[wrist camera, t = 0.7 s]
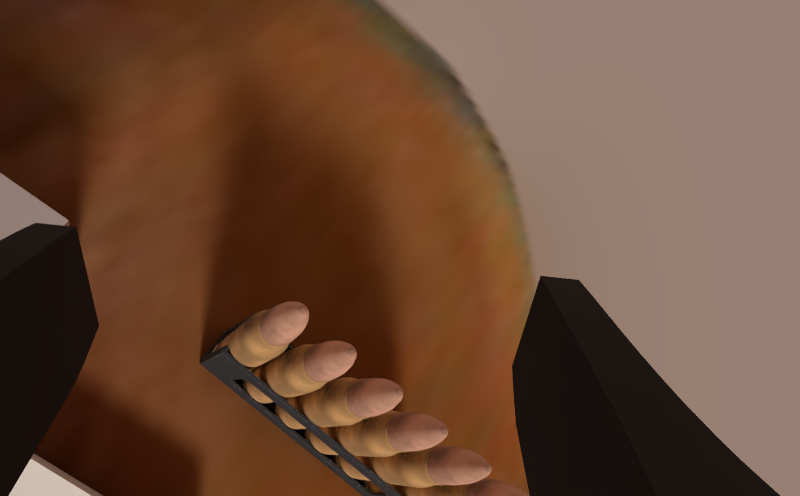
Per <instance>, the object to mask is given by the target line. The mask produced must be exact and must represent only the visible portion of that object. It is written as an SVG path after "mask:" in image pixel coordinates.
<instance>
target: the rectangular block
mask: <svg viewBox="0 0 800 496" xmlns="http://www.w3.org/2000/svg"><path fill="white" fill-rule="evenodd" d="M34 223H43V224H53V225H62V226H70V224H69V220H67V219H66V218H64V217H63V216H62V215H60V214H59V213H57V212H56V211H54V210H53V209H52V208H50V207H49V206H47V205H46V204H44V203H43V202H41V201H40V200H39V199H37V198H36V197H34V196H33V195H31V194H30V193H29V192H27V191H26V190H24V189H23V188H21V187H20V186H19V185H17V184H16V183H14V182H13V181H11V180H10V179H8V178H7V177H6V176H4V175H3V174H1V173H0V240H2V239H4V238H5V237H7V236H9V235H11V234H13V233H15V232H17V231H19V230H21V229H23V228H25V227H27V226H30V225H32V224H34Z"/></svg>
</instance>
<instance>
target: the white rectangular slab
mask: <svg viewBox="0 0 800 496" xmlns="http://www.w3.org/2000/svg"><path fill="white" fill-rule="evenodd" d="M9 496H103V495H102V494H100V493H99V492H97V491H95V490H94V489H92V488H90V487H89V486H87V485H86V484H84V483H82V482H81V481H79V480H77V479H76V478H74V477H73V476H71V475H69V474H68V473H66V472H64V471H63V470H61V469H59V468H58V467H56V466H55V465H53V464H51V463H50V462H48V461H46V460H45V459H43V458H42V457H40V456H38V455H37V454H35V453H34V454H33V456H32V457H31V459H30V461H29V462H28V464H27V466H26V467H25V469H24V471H23V472H22V474H21V476H20V477H19V479H18V481H17V482H16V484H15V486H14V487H13V489H12V491H11V492H10V494H9Z"/></svg>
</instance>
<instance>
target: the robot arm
mask: <svg viewBox="0 0 800 496" xmlns="http://www.w3.org/2000/svg"><path fill="white" fill-rule="evenodd" d="M98 327H99V324H98V319H97V315H96V311H95V306H94V302H93V298H92V293H91V289H90V285H89V280H88V276H87V272H86V267H85V263H84V259H83V254H82V250H81V246H80V241H79V237H78V233H77V228H76V227H71V226H62V225H53V224H43V223H34V224H32V225H30V226H27V227H25V228H23V229H21V230H19V231H17V232H15V233H13V234H11V235H9V236H7V237H5V238H4V239H2V240H0V496H9V494H10V492H11V491H12V489H13V487H14V486H15V484H16V482H17V481H18V479H19V477H20V476H21V474H22V472H23V471H24V469H25V467H26V466H27V464H28V462H29V461H30V459H31V457H32V456H33V454H34V452H35V451H36V449H37V447H38V446H39V444H40V442H41V441H42V439H43V437H44V435H45V434H46V432H47V430H48V429H49V427H50V425H51V424H52V422H53V420H54V419H55V417H56V415H57V413H58V412H59V410H60V408H61V407H62V405H63V403H64V401H65V400H66V398H67V396H68V394H69V393H70V391H71V389H72V387H73V386H74V384H75V382H76V380H77V377H78V375H79V373H80V371H81V368H82V366H83V364H84V362H85V359H86V357H87V354H88V352H89V349H90V347H91V344H92V342H93V339H94V337H95V334H96V332H97V329H98ZM512 371H513V389H514V404H515V416H516V426H517V431H518V437H519V442H520V447H521V453H522V458H523V463H524V468H525V473H526V478H527V483H528V488H529V493H530V496H780V495H779V494H778V493H777V492H775V491H774V490H773V489H772V488H771V487H770V486H769V485H768V484H767V483H765V482H764V481H763V480H762V479H761V478H760V477H759V476H758V475H757V474H756V473H754V472H753V471H752V470H751V469H750V468H749V467H748V466H747V465H746V464H745V463H743V462H742V461H741V460H740V459H739V458H738V457H737V456H736V455H735V454H734V453H733V452H732V451H731V450H730V449H729V448H728V447H727V446H726V445H725V444H724V443H722V441H721V440H720V439H718V438H717V437H716V436H715V435H714V433H713V432H712V431H711V430H710V429H709V428H708V427H707V426H706V425H705V424H704V423H703V422H702V421H701V420H700V419H699V418H698V417H697V416H696V415H695V414H694V413H693V412H692V411H691V410H690V409H689V408H688V407H687V406H686V405H685V404H684V402H683V401H682V400H681V399H680V398H679V397H678V396H677V395H676V394H675V393H674V391H673V390H672V389H671V388H670V387H669V386H668V385H667V384H666V383H665V382H664V380H663V379H662V378H661V377H660V376H659V375H658V374H657V373H656V371H655V370H654V369H653V368H652V367H651V366H650V365H649V363H648V362H647V361H646V360H645V359H644V358H643V357H642V355H641V354H640V353H639V352H638V351H637V349H636V348H635V347H634V346H633V345H632V343H631V342H630V341H629V340H628V339H627V337H626V336H625V335H624V334H623V333H622V332H621V330H620V329H619V328H618V327H617V326H616V324H615V323H614V322H613V321H612V319H611V318H610V317H609V316H608V314H607V313H606V312H605V311H604V310H603V308H602V307H601V306H600V305H599V304H598V302H597V301H596V300H595V299H594V297H593V296H592V295H591V294H590V293H589V291H587V289H586V288H585V287H584V286H583V284H582V283H581V282H580V281H579V280H573V279H563V278H555V277H545V276H541V277H540V280H539V283H538V286H537V289H536V293H535V296H534V299H533V302H532V305H531V308H530V312H529V315H528V318H527V321H526V324H525V327H524V330H523V334H522V337H521V340H520V343H519V346H518V349H517V353H516V356H515V359H514V362H513V365H512Z"/></svg>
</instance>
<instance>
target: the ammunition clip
mask: <svg viewBox="0 0 800 496" xmlns="http://www.w3.org/2000/svg"><path fill="white" fill-rule="evenodd" d="M308 319H309V310H308V308H307V306H305V305H304V304H303V303H300V302H285V303H282V304H279V305H276V306H274V307H273V308H271V309H268V310H263V311H260V312H258V313H255V314H253V315H251V316H250V317H248V318H246V319H245V320H243V321H241V322H240V323H238V324H236V325H235V326H233V327H231V328H230V329H228V330H226V331H225V332H224V333H223V335H222V336H221V337H220V338H219V339H218V340H217V341H216V343H215V344H214V345H213V346H212V347H211V348H210V349H209V351H208V352H207V353H206V354H205V355H204V356H203V357H202V359H201V360H200V364H201V365H202V366H203V367H205V368H206V369H207V370H208V371H210V372H211V373H212V374H213V375H214V376H216V377H217V378H218V379H219V380H221V381H222V382H223V383H224V384H226V385H227V386H228V387H229V388H231V389H232V390H233V391H234V392H235V393H237V394H238V395H239V396H240V397H242V398H243V399H244V400H245V401H247V402H248V403H249V404H250V405H252V406H253V407H254V408H255V409H256V410H258V411H259V412H260V413H261V414H263V415H264V416H265V417H266V418H268V419H269V420H270V421H271V422H272V423H274V424H275V425H276V426H277V427H279V428H280V429H281V430H282V431H284V432H285V433H286V434H287V435H289V436H290V437H291V438H292V439H293V440H295V441H296V442H297V443H298V444H300V445H301V446H302V447H303V448H305V449H306V450H307V451H308V452H310V453H311V454H312V455H313V456H314V457H316V458H317V459H318V460H319V461H321V462H322V463H323V464H324V465H326V466H327V467H328V468H329V469H331V470H332V471H333V472H334V473H335V474H337V475H338V476H339V477H340V478H342V479H343V480H344V481H345V482H347V483H348V484H349V485H350V486H352V487H353V488H354V489H355V490H356V491H358V492H359V493H360V494H361V495H363V496H528V495H527V494H526V493H525V492H523V491H522V490H520V489H518V488H517V487H515V486H512V485H510V484H507V483H504V482H501V481H497V480H493V479H487V478H485V477H487V476H488V475H489V474H490V472H491V470H492V467H491V465H490V463H489V462H488V461H487V460H486V459H485V458H484V457H482V456H481V455H479V454H477V453H475V452H473V451H470V450H467V449H463V448H460V447H454V446H446V445H440V444H438V443H440V442H442V441H443V440H444V439H445V438H446V436H447V434H448V428H447V427H446V425H445V424H444V423H443V422H441V421H440V420H438V419H437V418H434V417H432V416H429V415H426V414H421V413H406V412H396V411H393V410H391V409H393V408H394V407H395V406H396V405H397V404H398V403H399V402H400V401H401V400H402V397H403V390H402V388H401V387H400V386H399V385H398V384H397V383H395V382H393V381H390V380H387V379H383V378H367V379H355V378H352V377H344V378H338V379H335V378H337V377H340V376H341V375H343V374H344V373H345V372H346V371H347V370H348V369H350V368H351V366H352V365H353V363H354V362H355V360H356V356H357V352H356V349H355V347H354V346H352V345H351V344H349V343H346V342H343V341H325V342H323V343H318V344H303V345H301V346H298V347H294V346H292V345H291V344H290V343H291V342H292V341H293V340H294V339H295V338H297V337H298V336H299V335H300V334H301V333H302V332H303V330H304V329H305V327H306V325H307V323H308ZM282 352H285V353H283V354H281V353H282ZM333 379H334V380H333Z"/></svg>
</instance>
